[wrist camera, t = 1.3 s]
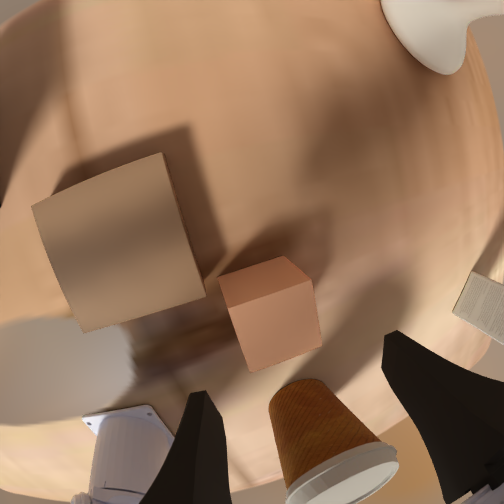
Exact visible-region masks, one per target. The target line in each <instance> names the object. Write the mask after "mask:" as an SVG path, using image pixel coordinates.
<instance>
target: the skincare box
mask: <svg viewBox="0 0 504 504" xmlns="http://www.w3.org/2000/svg"><path fill="white" fill-rule="evenodd" d="M452 313H453V314H454V315H456V316H457V317H459V318H460V319H462V320H464V321H465V322H467V323H469V324H470V325H472V326H474V327H475V328H477V329H479V330H480V331H482V332H483V333H485V334H487V335H488V336H490V337H492V338H493V339H495V340H496V341H498V342H500V343H501V344H503V345H504V285H503V284H501V283H499V282H496V281H494V280H492V279H490V278H488V277H485V276H483V275H481V274H478V273H476V272H474V271H471V273H470V276H469V278H468V280H467V283H466V285H465V287H464V289H463V292H462V294H461V296H460V298H459V300H458V302H457V304H456V306H455V308H454V310H453V312H452Z"/></svg>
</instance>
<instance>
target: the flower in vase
mask: <svg viewBox="0 0 504 504" xmlns="http://www.w3.org/2000/svg"><path fill="white" fill-rule="evenodd" d="M381 6H382V9H383V12H384V15H385V17H386V20H387V21H388V23H389V25H390V27H391V29H392V30H393V32H394V34H395V35H396V36H397V38H398V39H399V41H400V42H401V43H402V45H403V46H404V47H405V48H406V49H407V50H408V51H409V53H410V54H411V55H412V56H413V57H414V58H416V59H417V60H418V61H419V62H420V63H422V64H423V65H424V66H426V67H427V68H429V69H431V70H433V71H435V72H437V73H440V74H444V75H451V74H453V73H455V72H456V71H457V70H458V69H459V68H460V67H461V66H462V64H463V61H464V57H465V53H466V32H467V27H468V25H469V23H470V22H472V21H474V20H476V19H479V18H482V17H487V16H493V15H504V0H381Z"/></svg>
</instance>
